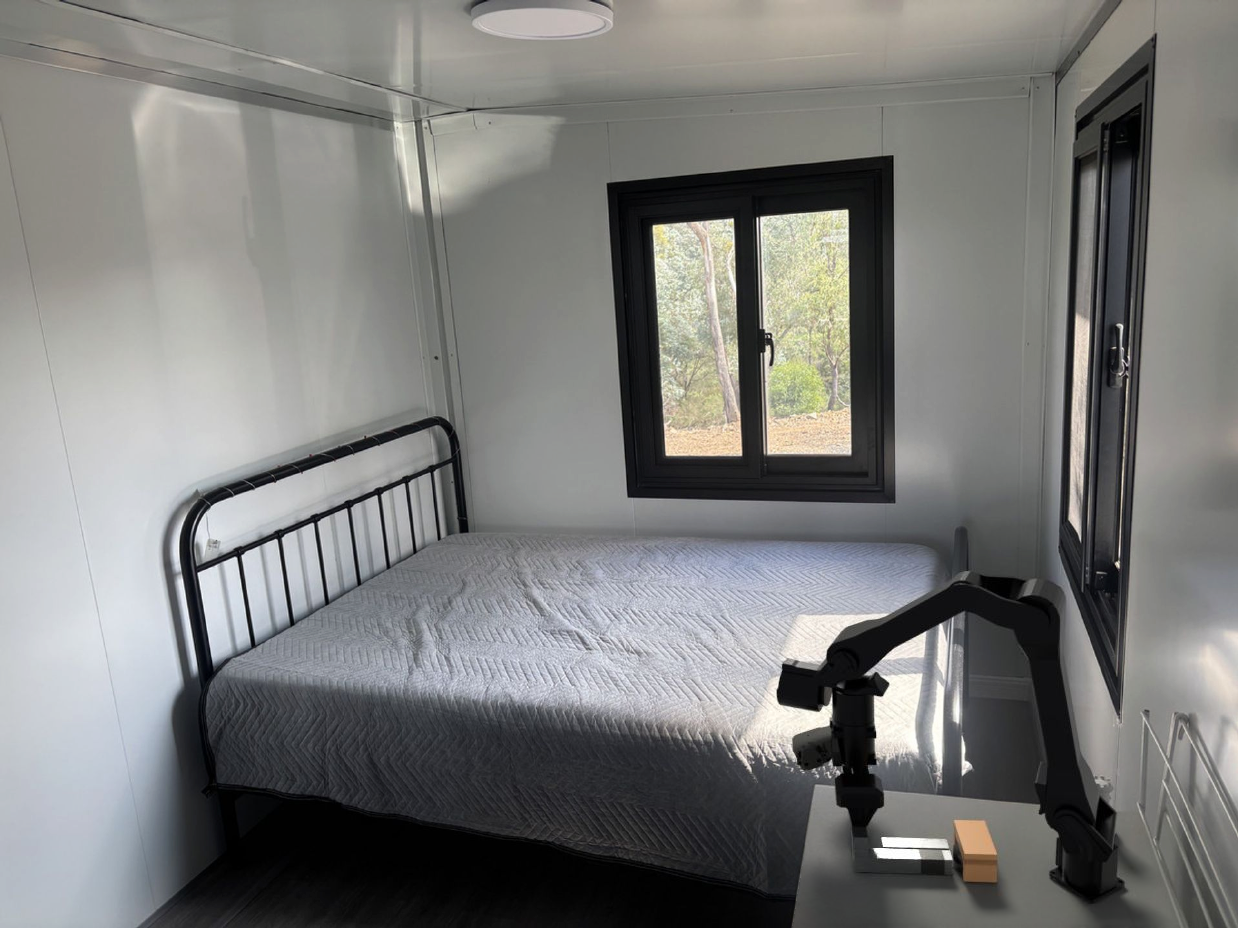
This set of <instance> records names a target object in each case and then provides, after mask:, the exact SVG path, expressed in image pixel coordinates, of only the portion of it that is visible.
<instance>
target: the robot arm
mask: <svg viewBox="0 0 1238 928" xmlns="http://www.w3.org/2000/svg"><path fill="white" fill-rule="evenodd" d="M963 612H966V613H971V614H974V615H977V616H978V617H981V618H982V619H984V620H986V621H988V622H990V623H992V624H993V625H996V626H998V627H1001V628H1006V629H1009V630H1012V631H1013V633H1014V636H1015V639H1016V641H1017V644H1018V646H1019V647H1020V649H1021V651H1022V652H1023V654H1024V656H1025V657H1026V658H1027V661H1028V664H1029V669H1030V674H1031V679H1032V685H1033V686H1032V687H1033V692H1034V697H1035V702H1036V707H1037V712H1038V717H1039V725H1040V730H1041V736H1042V740H1043V741H1042V742H1043V747H1044V752H1045V757H1046V759H1045V760H1046V762H1045V761H1040V762H1039V766H1038V770H1037V773H1036V777H1035V782H1034V789H1035V792H1036V795H1037V797H1038V800H1039V810H1038V814H1039V816H1042V815H1044V818H1045V821H1046V824H1047V826H1048V827H1049V828H1050V829H1052V830H1054V831H1055V832H1056V833H1057V835H1058V836H1057V837H1056V838H1055V839H1056V840H1055V842H1056V843H1055V866H1057V867H1054V868H1053V869H1051V870H1049V871H1048V876H1049V877H1050V878H1052V879H1053V880H1055V881H1056V882H1058V883H1059V884H1060V885H1062V886H1063V887H1065V888H1067V889H1068V890H1069V891H1071V892H1073V894H1076V895H1077V896H1078V897H1080V898H1082V899H1083V900H1085V901H1086V902H1088V903H1091V904H1093V903H1096V902H1098V901H1100V900H1101V899H1104V898H1106V897H1108V896H1109V895H1111V894H1113V893H1115V892H1116V891H1119V890H1121V889H1123V888H1124V887H1125V885H1126V882H1125V881H1124V880H1123V879H1121V878H1120V877H1118V870H1119V869H1118V867H1119V864H1118V863H1119V850H1120V849H1119V845H1116V844H1115V842H1114V841H1115V835H1116V833H1115V830H1116V827H1117V816H1118V813H1117V811H1116V810H1115V809H1114V808H1113V806H1111V804H1110V803H1109V804H1108V803H1107V802H1106V801H1105V800H1104V799H1103V798H1102V797H1101V796H1100V795H1099V790H1098V787H1097V784H1096V782H1095V779H1094V776H1093V775H1094V774H1093V771H1092V768H1091V767H1090V766H1089V764H1088V762H1087V760H1086V759H1085V757H1084V755H1083V754H1082V751H1081V745H1080V740H1079V734H1078V728H1077V724H1076V723H1077V722H1076V717H1075V711H1074V706H1073V698H1072V694H1071V689H1070V683H1069V681H1070V680H1069V676H1068V671H1067V665H1066V659H1065V655H1064V647H1065V646H1064V645H1065V635H1066V621H1067V619H1066V618H1067V614H1066V613H1067V597H1066V594H1065V592H1064V590H1063V588H1062V587H1061V586H1059V585H1057V583H1054V582H1053V580H1050V579H1045V578H1039V577H1038V578H1032V579H1026V578H1023V577H1019V576H1018V577H1017V576H1015V575H1014V576H1013V575H999V574H998V575H996V574H983V573H980V572H978V571H977V572H975V571H971V570H970V571H969V570H965V571H961V572H959V573H957V574H956V575H955V576H954V577H953V578H951V579H950V580H948V581H947V582H945V583H943V584H941V585H939V586H937V587H935V588H934V589H932V590H931V591H929V592H927V593H925V594H923V595H921V596H920V597H917V598H916V599H914V600H912V601H911V602H908V603H907V604H905V605H904V606H901V607H900V608H898V609H896V610H894V611H893V612H891V613H889V614H887V615H885V616H882V617H878V618H873V619H866V620H864V621H860V622H857V623H853V624H851V625H847V626H846V627H844V628H843V629H842V630H841V631H840V632H839V634H838V635H837V636H836V637H835V639H834V640H833V641H832V643H831V644H830V645H829V646H828V648H827V649H826V655H825V659H824V660H823V661H822V663H820V664H817V663H811V662H805V661H800V660H797V659H795V658H789V657H788V658H786V659H785V660H784V661H783V662H782V663H781V673H780V675H779V680H778V684H777V688H776V700H777V704H778V705H780V706H783V707H787V708H788V707H789V708H794V709H799V710H804V711H810V712H813V713H814V712H816V713H820V712H821V711H822V709H823V707H828V706H829V705H830V702H832V703H831V705H832V706H831V707H832V709H831V710H832V711H831V712H832V714H831V716H830V717H829V725H826V726H822V727H821V726H820V727H815V728H812V729H808V730H805V731H802V732H800V733H797V734H795V735H794V736H792V740H791V741H792V743H791V745H792V751H793V754H794V756H795V758H796V765H797V766H799V768H800V770H802V771H811V770H814V769H818V768H821V767H823V766H824V764H827V763H830V762H831V761H832V762H831V764H832V767H834V768H835V767H841V768H842V772H841V773H839V774H838V776H836V777H835V778H834V794H835V801H836V803H835V804H836V806H838V807H839V808H840V809H841V808H842V809H844V808H845V809H846V810H847V812H848V816H849V819H850V823H851V826H852V827H866V828H867V829H868V826H869V824H870V822H871V820H872V819H873V818H874V816H875V814H876V813H877V811H878V810H879V809H882V808H883V807H885V793H884V786H883V782H882V779H881V778H880V777H879V776H877V775H876V774H875V773H870V770H869V766H877V765H878V759H877V754H876V739H877V728H876V724H875V723H876V721H875V697H879V698H883V697H884V696H885V693H886V692H887V690H888V689H889V687H890V682H889V681H888V680H887V679H886V678H884V677H882V676H881V675H880V674H879V672H878V671H874V672H873V674H870V675H866V674H867V673H868V672H869V671H871V670H872V669H873V668H874V667H876V665H878V664H879V663H880V662H881V661H882V660H883V659H884V658H886V656H887V655H888V654H889V653H891V652H893V650H895V649H896V648H897V647H900V646H901V645H903V644H905V643H907V642H909V641H910V640H913V639H915V638H917V637H918V636H920V635H922V634H924V633H926V632H928V631H930V630H931V629H933V628H936V627H937V626H939V625H941V624H943V623H944V622H947V621H948V620H950V619H953V618H954V617H956V616H958V615H959V614H962V613H963Z"/></svg>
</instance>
